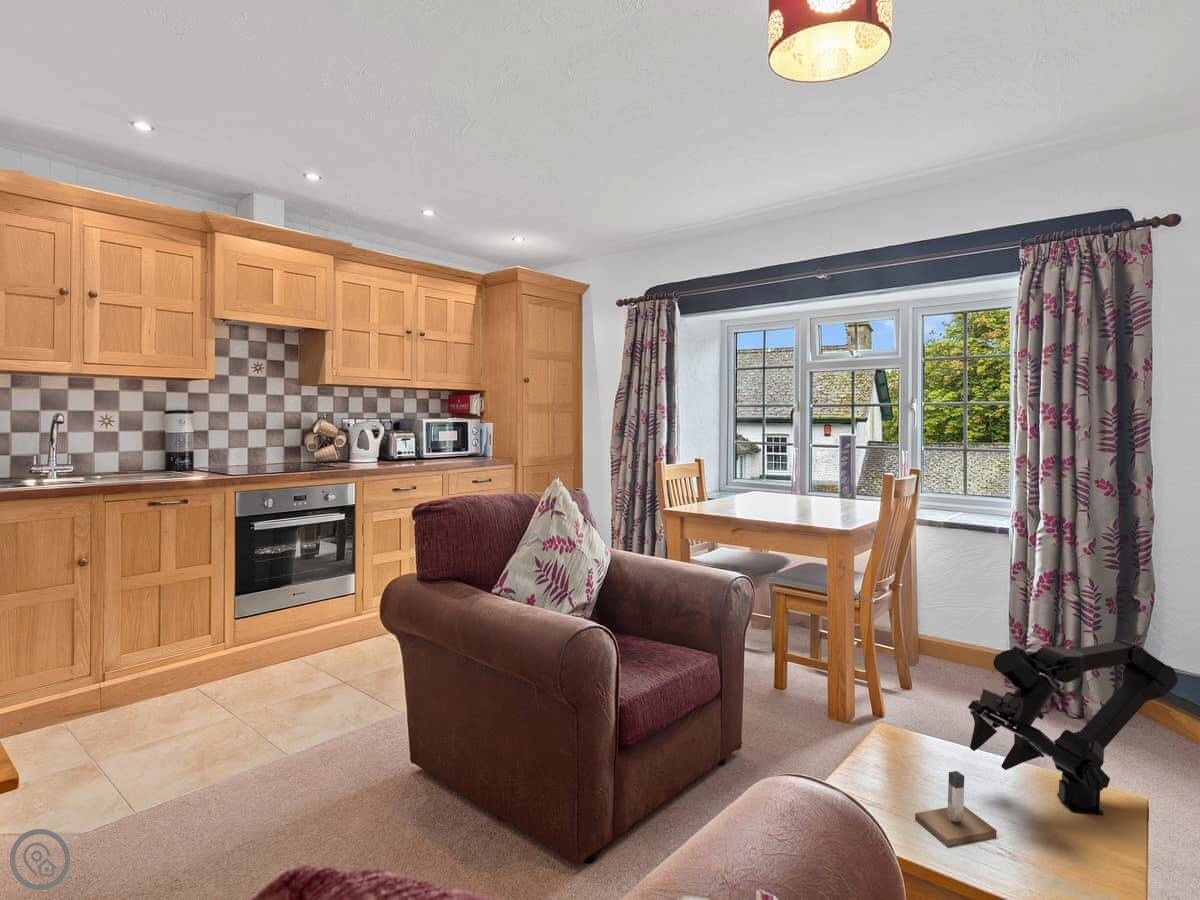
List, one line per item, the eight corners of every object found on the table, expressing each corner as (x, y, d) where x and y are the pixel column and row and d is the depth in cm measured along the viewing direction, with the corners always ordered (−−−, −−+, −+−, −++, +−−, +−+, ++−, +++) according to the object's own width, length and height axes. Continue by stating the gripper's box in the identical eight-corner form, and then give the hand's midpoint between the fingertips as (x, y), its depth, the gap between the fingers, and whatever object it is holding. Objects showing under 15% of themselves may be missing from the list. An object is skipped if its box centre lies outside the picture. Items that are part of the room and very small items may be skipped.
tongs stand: (962, 811, 144) (963, 759, 143) (996, 837, 135) (998, 781, 134) (915, 819, 141) (916, 766, 140) (947, 847, 132) (949, 790, 131)
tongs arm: (959, 817, 138) (960, 773, 138) (963, 820, 137) (964, 775, 137) (951, 819, 138) (952, 774, 137) (955, 822, 137) (956, 777, 136)
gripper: (971, 663, 151) (931, 718, 149) (1037, 690, 132) (992, 754, 130) (1005, 693, 152) (966, 749, 150) (1075, 725, 133) (1031, 788, 131)
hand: (987, 758), depth 140 cm, fingers open, 9 cm apart
